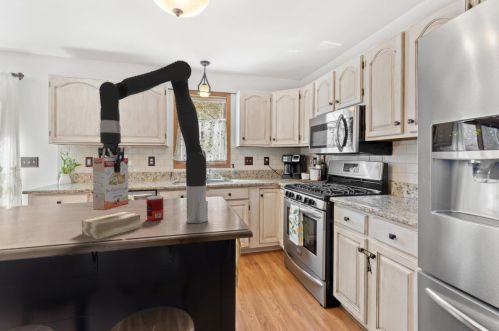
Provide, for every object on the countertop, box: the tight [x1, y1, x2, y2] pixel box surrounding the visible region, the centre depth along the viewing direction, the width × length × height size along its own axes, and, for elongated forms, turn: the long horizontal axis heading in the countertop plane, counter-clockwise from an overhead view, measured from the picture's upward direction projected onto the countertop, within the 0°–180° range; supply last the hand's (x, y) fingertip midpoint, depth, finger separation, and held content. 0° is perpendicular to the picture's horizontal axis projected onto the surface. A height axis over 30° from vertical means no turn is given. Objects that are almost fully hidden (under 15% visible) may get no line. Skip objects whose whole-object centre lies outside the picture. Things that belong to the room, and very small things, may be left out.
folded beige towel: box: [81, 211, 141, 240], centre depth 105 cm, size 12×18×6 cm, turn 148°
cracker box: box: [92, 157, 129, 211], centre depth 105 cm, size 14×6×21 cm, turn 168°
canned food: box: [146, 195, 164, 222], centre depth 124 cm, size 8×8×11 cm
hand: (111, 172), depth 105 cm, fingers closed on cracker box, 6 cm apart
